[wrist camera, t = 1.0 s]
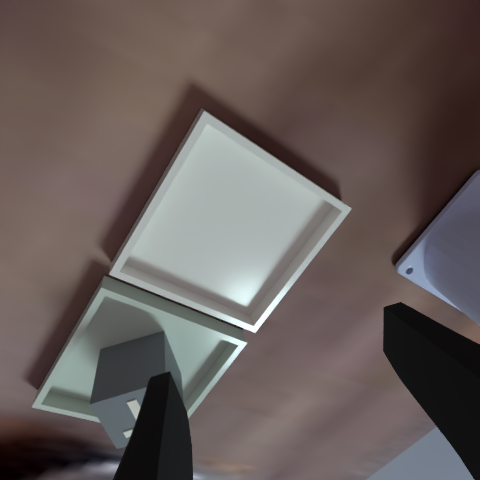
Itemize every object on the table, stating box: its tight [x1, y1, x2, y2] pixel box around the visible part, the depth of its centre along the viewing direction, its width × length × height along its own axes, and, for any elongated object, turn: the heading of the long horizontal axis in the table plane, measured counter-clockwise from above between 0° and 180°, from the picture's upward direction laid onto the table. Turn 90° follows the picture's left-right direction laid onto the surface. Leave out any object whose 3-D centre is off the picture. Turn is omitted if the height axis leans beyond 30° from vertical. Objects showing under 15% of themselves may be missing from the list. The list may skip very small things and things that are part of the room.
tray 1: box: [109, 108, 351, 333], centre depth 20 cm, size 10×10×1 cm
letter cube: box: [89, 331, 184, 449], centre depth 21 cm, size 4×4×4 cm
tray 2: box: [32, 276, 247, 423], centre depth 23 cm, size 10×10×1 cm
